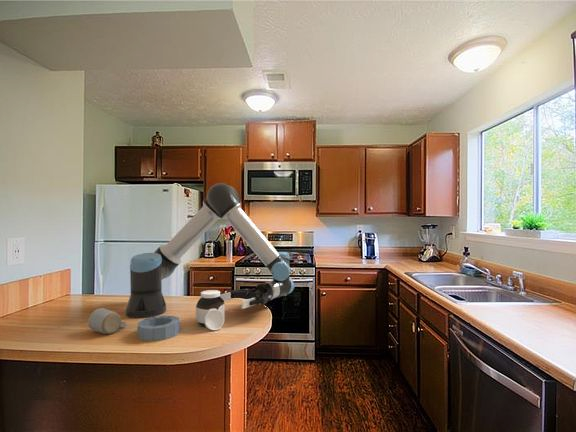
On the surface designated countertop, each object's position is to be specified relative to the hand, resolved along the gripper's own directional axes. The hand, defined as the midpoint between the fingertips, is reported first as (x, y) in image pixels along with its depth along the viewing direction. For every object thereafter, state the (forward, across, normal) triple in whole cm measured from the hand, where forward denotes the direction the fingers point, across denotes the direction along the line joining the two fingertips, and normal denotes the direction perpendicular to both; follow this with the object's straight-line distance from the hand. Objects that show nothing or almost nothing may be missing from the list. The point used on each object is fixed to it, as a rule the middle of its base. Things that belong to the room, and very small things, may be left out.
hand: (229, 302), depth 125 cm
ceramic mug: (+32, +25, -7) cm, 41 cm away
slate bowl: (+24, +8, -7) cm, 26 cm away
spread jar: (+8, 0, -7) cm, 10 cm away
